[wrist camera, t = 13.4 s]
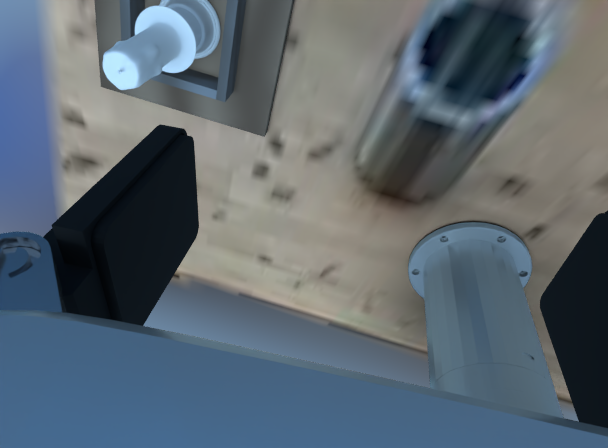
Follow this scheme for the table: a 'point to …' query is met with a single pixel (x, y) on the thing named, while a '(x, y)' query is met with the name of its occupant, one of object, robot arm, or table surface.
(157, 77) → the keeper board
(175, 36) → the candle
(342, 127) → the table surface
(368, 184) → the table surface
